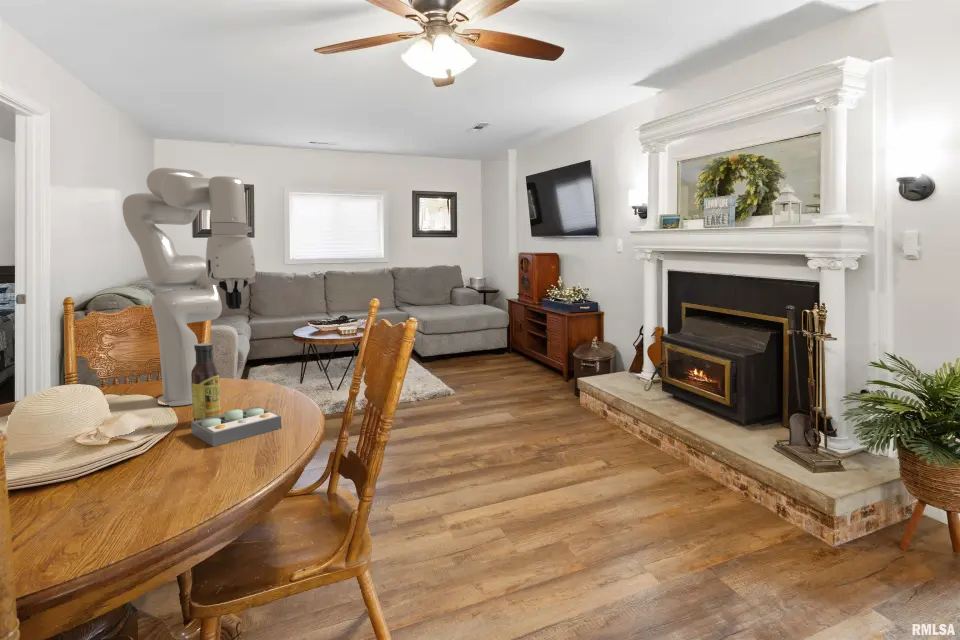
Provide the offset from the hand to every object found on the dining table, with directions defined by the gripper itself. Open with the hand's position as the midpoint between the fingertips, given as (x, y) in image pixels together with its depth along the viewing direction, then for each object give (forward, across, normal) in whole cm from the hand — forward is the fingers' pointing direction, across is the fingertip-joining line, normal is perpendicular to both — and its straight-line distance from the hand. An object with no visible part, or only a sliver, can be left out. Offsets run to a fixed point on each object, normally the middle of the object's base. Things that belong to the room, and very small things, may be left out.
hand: (234, 308), depth 126 cm
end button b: (+28, -2, +3) cm, 29 cm away
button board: (+29, +3, +4) cm, 29 cm away
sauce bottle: (+29, +5, -8) cm, 31 cm away
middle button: (+28, +3, +3) cm, 28 cm away
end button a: (+28, +8, +3) cm, 30 cm away
